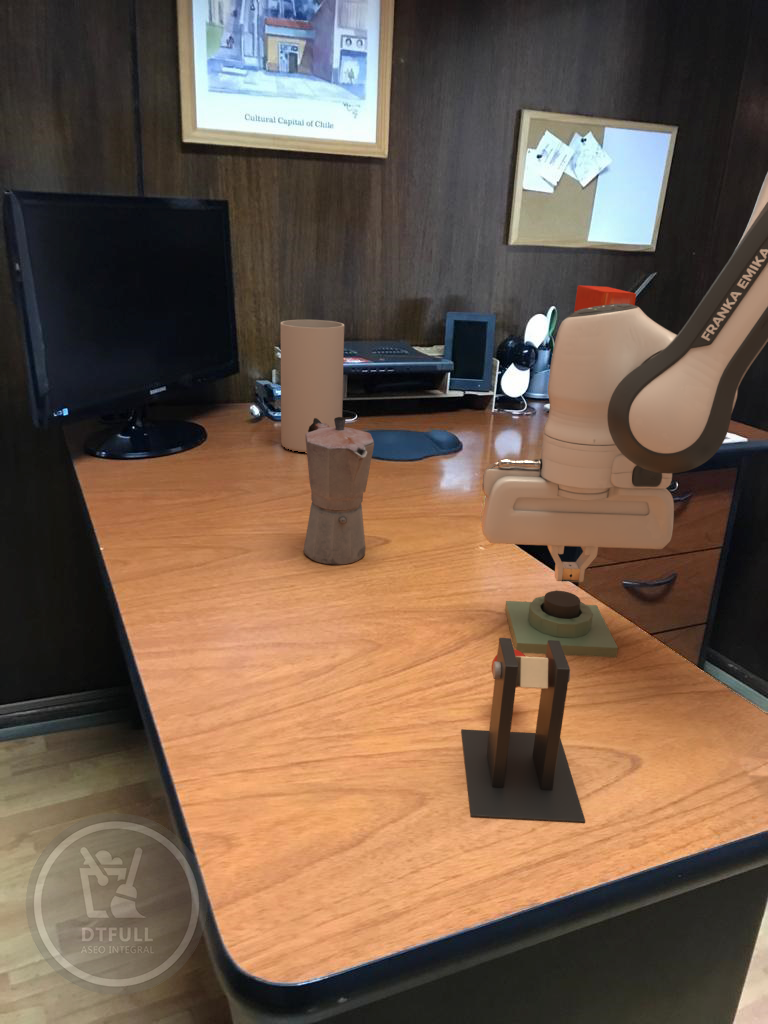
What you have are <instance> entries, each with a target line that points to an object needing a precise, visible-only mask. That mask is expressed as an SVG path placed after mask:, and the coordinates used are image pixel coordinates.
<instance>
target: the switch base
mask: <svg viewBox="0 0 768 1024" xmlns="http://www.w3.org/2000/svg"><path fill="white" fill-rule="evenodd" d="M497 645H498V646H497V654H496V655H497V662H496V661H495V662H494V663H493V674H492V678H493V680H494V682H493V692H492V700H491V701H492V702H491V711H490V719H489V730H483V729H482V730H481V729H466V728H465V729H463V728H462V729H460V734H461V735H460V736H461V743H462V752H463V753H462V754H463V762H464V769H465V780H466V788H467V798H468V806H469V815H470V818H472V819H473V818H474V819H492V820H493V819H495V820H515V821H532V822H533V821H535V822H553V823H572V824H574V823H575V824H585V823H586V819H585V815H584V812H583V808H582V804H581V802H580V799H579V795H578V792H577V788H576V785H575V783H574V778H573V775H572V771H571V768H570V765H569V762H568V759H567V756H566V752H565V749H564V745H563V742H562V738H561V735H562V734H561V733H562V729H563V720H564V714H565V706H566V700H567V693H568V687H569V683H570V680H571V668H570V665H569V663H568V660H567V657H566V655H565V654H564V652H563V649H562V646H561V644H560V641H556V640H548V642H547V650H546V654H545V657H544V658H548V689H540V696H539V703H538V710H537V718H536V726H535V732H525V731H524V732H522V731H512V722H513V715H514V706H515V698H516V690H517V688H516V682H517V673H518V664H517V660H516V656H515V652H514V649H515V647H514V643H513V639H512V637H499V638H498V644H497Z"/></svg>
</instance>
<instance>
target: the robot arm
mask: <svg viewBox="0 0 768 1024" xmlns="http://www.w3.org/2000/svg"><path fill="white" fill-rule="evenodd" d="M767 343H768V171H767V172H766V175H765V177H764V180H763V182H762V185H761V188H760V190H759V193H758V196H757V199H756V202H755V205H754V208H753V210H752V213H751V216H750V218H749V221H748V223H747V225H746V227H745V230H744V232H743V234H742V236H741V238H740V240H739V242H738V244H737V246H736V247H735V249H734V251H733V252H732V255H731V256H730V257H729V259H728V261H727V262H726V263H725V265H724V266H723V268H722V270H721V271H720V273H719V274H718V275H717V277H716V278H715V280H714V281H713V283H711V285H710V287H709V288H708V290H707V291H706V293H705V295H703V297H702V299H701V300H700V302H699V303H698V305H697V306H696V308H695V309H694V311H693V312H692V313H691V315H690V316H689V318H688V320H687V321H686V323H685V324H684V325H683V326H682V328H681V329H680V331H679V332H678V334H676V333H674V332H672V331H671V330H669V329H667V328H665V327H664V326H662V325H661V324H659V323H657V322H656V321H654V320H653V319H652V318H650V317H649V316H648V315H647V314H646V313H645V312H644V311H643V310H642V309H641V308H640V307H639V306H638V305H632V304H610V305H602V306H594V307H591V308H584V309H580V310H578V311H575V312H574V311H573V312H572V313H570V314H568V315H567V316H566V317H565V318H564V319H563V320H562V321H561V323H560V325H559V327H558V329H557V332H556V337H555V340H554V344H553V350H552V355H551V361H550V366H549V374H548V382H547V396H548V400H549V410H548V415H547V418H546V420H545V423H544V426H543V431H542V441H541V451H540V459H538V458H537V459H536V458H534V459H531V458H525V459H524V458H523V459H511V458H500V459H498V460H497V461H495V462H493V463H491V464H489V465H488V466H486V468H485V470H484V472H483V475H482V492H483V494H484V495H485V500H484V505H483V509H482V515H481V531H482V535H483V537H485V539H486V540H487V541H488V542H489V543H490V544H497V545H498V544H501V545H502V544H503V545H524V546H525V545H527V546H529V545H530V546H547V549H548V551H549V553H550V556H551V558H552V559H553V562H554V563H555V565H554V579H555V581H556V582H569V583H570V582H571V583H584V580H585V571H586V569H587V568H588V567H589V566H590V565H591V564H592V562H593V561H594V560H595V559H596V557H598V551H599V548H614V549H639V550H663V549H664V548H666V546H667V545H668V544H669V543H670V542H671V540H672V538H673V537H672V536H673V532H674V531H673V530H674V521H675V520H674V519H675V514H674V513H675V502H674V498H673V495H672V494H671V492H670V491H669V490H668V489H667V488H669V486H670V485H671V483H672V479H673V474H680V473H685V472H688V471H691V470H694V469H697V468H698V467H700V466H702V465H703V464H705V463H706V462H708V461H710V459H711V458H713V457H714V456H715V455H716V453H717V452H718V451H719V450H720V448H721V447H722V445H723V443H724V441H725V440H726V437H727V435H728V432H729V429H730V424H731V420H732V414H733V411H734V408H735V405H736V402H737V399H738V395H739V387H740V385H741V383H742V381H743V379H744V377H745V375H746V373H747V372H748V370H749V369H750V367H751V366H752V364H753V363H754V361H755V360H756V359H757V357H758V356H759V354H760V353H761V352H762V350H763V349H764V347H765V346H766V345H767ZM565 547H580V548H581V550H582V552H581V554H580V555H579V557H578V558H577V559H576V561H562V559H561V557H560V555H564V552H565Z"/></svg>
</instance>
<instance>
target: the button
mask: <svg viewBox="0 0 768 1024" xmlns="http://www.w3.org/2000/svg"><path fill="white" fill-rule="evenodd" d="M544 596H545V597H544V604H543V612H545V613H546V614H548V615H549V616H553V617H556V618H561V619H572V618H576V617H578V615H579V608H580V601H581V598H580V597H578V596H577V595H576V594H575V593H572V592H569V591H564V590H550V591H548V592H546V593H545V594H544Z"/></svg>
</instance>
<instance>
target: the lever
mask: <svg viewBox="0 0 768 1024" xmlns="http://www.w3.org/2000/svg"><path fill="white" fill-rule="evenodd" d="M514 652H515V656H516V660H517V664H518V673H517V682H516V689H517V688H521V689H522V688H523V689H540V690H541V689H548V658H545V657H544V656H543V657H541V656H527V655H526V654H525V653H522V652H520V651H518V650H515V648H514ZM495 661H496V662H497V654H496V655H495V656H494V658H493V660H492V663H491V672H492V675H493V663H494V662H495Z"/></svg>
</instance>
